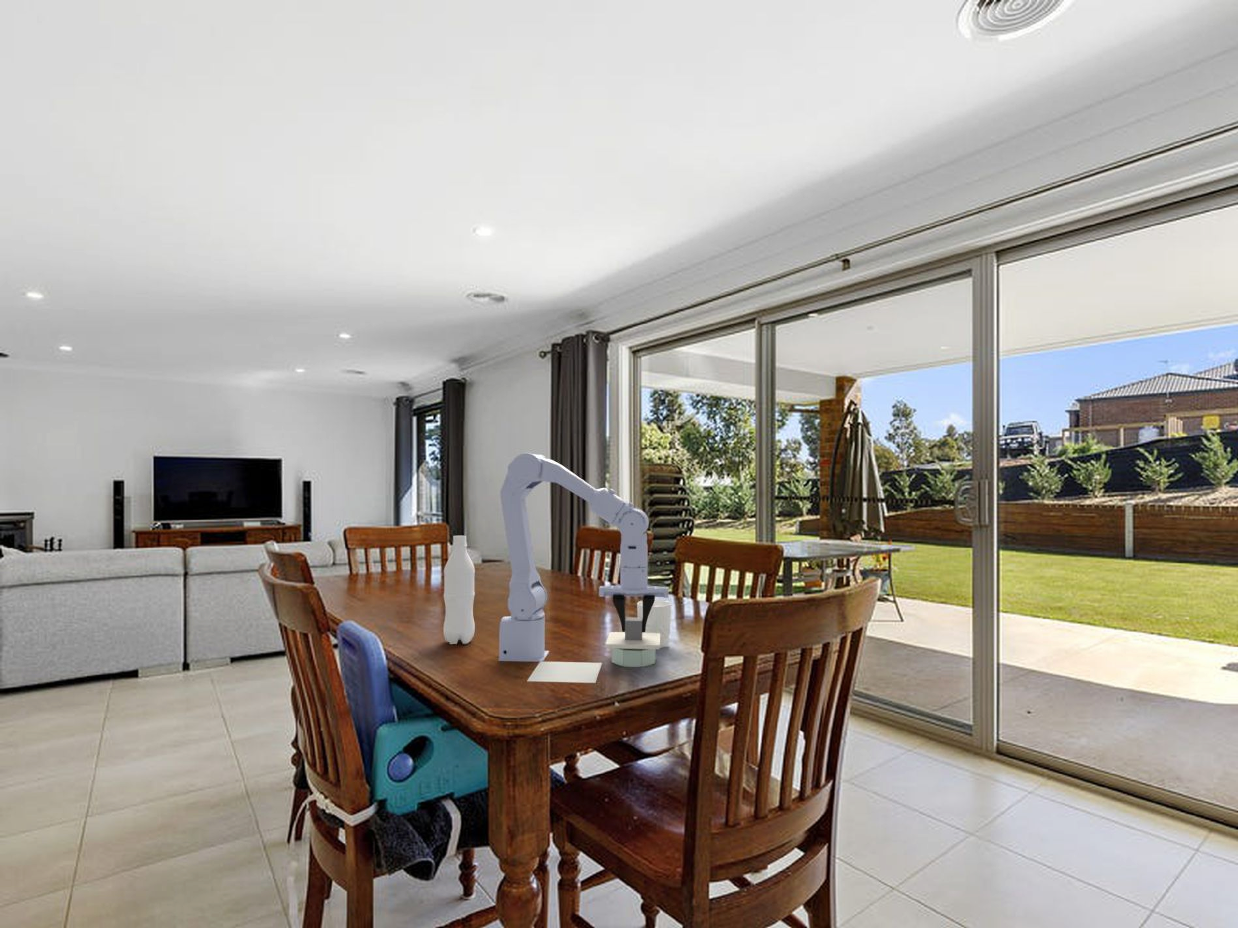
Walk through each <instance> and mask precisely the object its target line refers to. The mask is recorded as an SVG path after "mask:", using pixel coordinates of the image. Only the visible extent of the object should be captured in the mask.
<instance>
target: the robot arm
mask: <svg viewBox="0 0 1238 928" xmlns="http://www.w3.org/2000/svg"><path fill="white" fill-rule="evenodd" d="M543 482H546V483H555V484H558V485H560V486H561V487H563V488H565V489H566V490H568V491H570V492H571V493H573V494H575V495H577V497H580V498H582V499H583V500H584V501H586V502H587V503H588V508H589V510H590V512H592V513H594V514H595V515H597V517H600V518H601V519H603V520H604V521H606V522H607V523H609V524H610V525H612V526H613V527H618V528H617V529H618V531H619V533H620V535H621V537H620V538H621V539H620V555H619V558H620V562H619V564H620V566H619V567H620V568H619V569H620V585H600V586H599V588H598V597H601V598H604V597H612V604H613V605H614V608H615V610H616V612H617V614H618V619H619V622H620V626H621V632H625V619H626V598H627V597H633V598H635V597H639V598H640V597H641V598H642V601H643V621H642V632H645V631H646V623H647V619H648V616H649V613H650V611H651V608H652V606H653V604H654V601H655V600H656V598H665V599H666V598H669V586H654V585H648V561H649V560H648V554H649V553H648V548H649V547H648V535H647V534H648V533H647V532H646V531H647V530H648V528H649V525H650V522H649V521H650V520H649V517H648V515H647V513H646V512H644V511H643V509H642V508H639V507H634V506H635V504H634V503H633V502H631V501H629V503H628V502H627V501H625V500H624V499H622V498H621V497H620V496H618V495H617V494H615V493H616V490H614V489H612V488H609V489H607V488H606V487H602V488H598V489H596V487H593V486H592V485H591V484H589V483H588V482H586V481H585V480H584V479H582V478H580V477H579V476H578V475H576V474H575V473H574V472H572V471H571V470H570V469H568V468H567V467H565V466H563V465H562V464H560V463H558V462H556V461H555V460H553V459H551V458H548V457H547V456H545V455H543V454H539V453H535V454H533V453H530V452H523V453H520V454H518V455H516V457H515V458H514V459H513V460H511V462H510V463H509V464H508V466H507V473H506V475H505V478H504V480H503V483H502V486H501V489H500V492H499V494H500V495H499V496H500V502H501V509H502V515H503V523H504V529H505V537H506V541H507V542H506V543H507V550H508V556H509V561H510V562H509V563H510V568H511V577H510V581H509V584H508V585H509V587H508V588H509V596H508V598H507V609H508V611H509V613H510V616H507V615H506V616H503V617H502V618H501V620H500V623H499V630H498V631H499V634H498V636H499V643H498V644H499V648H498V652H499V653H498V655H499V656H498V661H499V662H500V661H501V662H536V663H537V662H538V663H540V661H541V662H544V661H545V659H546V657H547V656H548V655H549V653H550V651H549V650H545V642H546V641H545V639H546V638H545V637H546V636H545V635H546V634H545V631H546V630H545V629H546V628H545V626H546V624H545V623H546V622H545V620H546V619H545V618H546V616H545V615H546V614H545V612H544V609H543V608H544V606H546V603H547V601H548V592H547V590H546V587H544V585H543V583H542V580H541V575H540V574H539V572H538V570H537V567H536V563H535V562H536V561H535V556H534V555H535V554H534V548H533V542H532V535H531V529H530V522H529V517H528V516H529V515H528V509H527V502H526V498H527V497H528V496H529V495H530V494H531V492H532V491H533V489H534V488H535V487H536V486H539V485H540V484H541V483H543Z"/></svg>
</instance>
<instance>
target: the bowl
mask: <svg viewBox="0 0 1238 928" xmlns="http://www.w3.org/2000/svg"><path fill="white" fill-rule="evenodd" d="M611 663H612V664H615V665H617V666H620V667H625V668H643V667H648V666H651V665H654V664H656V649H622V648H611Z"/></svg>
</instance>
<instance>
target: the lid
mask: <svg viewBox="0 0 1238 928" xmlns="http://www.w3.org/2000/svg"><path fill="white" fill-rule="evenodd" d="M625 617H626V616H625ZM642 621H643V618H638V617H633V616H631V617H630V616H629V617H626V619H625V632H622V631H609V634H608V636H607V639H606V641H605V644H604V648H605V649H612V648H622V649H655V650H661V648H660V633H643V632H642Z"/></svg>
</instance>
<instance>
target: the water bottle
mask: <svg viewBox="0 0 1238 928" xmlns="http://www.w3.org/2000/svg"><path fill="white" fill-rule="evenodd" d="M452 538H453V539H452V545H451V547H452V550H451V554H450V556H449V558H448V560H447V562H446V564H445V566H444V569H443V574H444V577H443V579H444V580H443V581H444V582H443V583H444V587H443V592H444V593H443V600H444V605H445V616H444V622H443V628H442V629H443V636H444V640H445V642H447V643H448V642H449V643H448V644H450V645H452V644H456V645H457V644H458V642H459V641H461V643H462V645H466V644H469V643H471V641H472V639H473V637H474V635H475V631H476V627H475V626H476V624H475V623H476V622H475V620H474V600H475V597H476V596H475V595H476V592H475V573H476V570H475V569H476V568H475V565H474V563H473V560H472V559H471V557H470V554H469V553H468V550H467V547H468V542H467V536H466V535H453V537H452Z"/></svg>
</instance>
